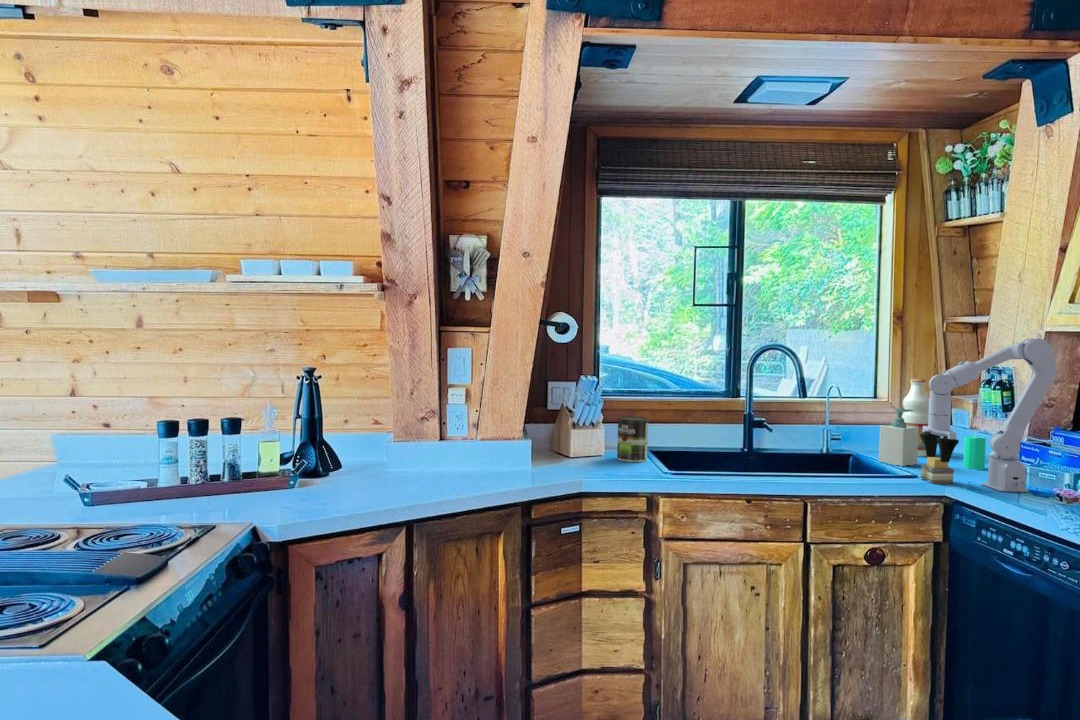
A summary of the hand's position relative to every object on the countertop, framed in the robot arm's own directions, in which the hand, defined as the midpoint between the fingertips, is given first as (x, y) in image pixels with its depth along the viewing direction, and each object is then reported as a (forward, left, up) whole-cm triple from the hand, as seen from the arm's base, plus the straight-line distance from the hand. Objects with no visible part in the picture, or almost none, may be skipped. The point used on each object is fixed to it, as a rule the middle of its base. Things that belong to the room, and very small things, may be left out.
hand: (937, 459), depth 206 cm
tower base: (0, 0, -7) cm, 7 cm away
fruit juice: (+47, -18, -7) cm, 51 cm away
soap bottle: (+28, -2, -7) cm, 29 cm away
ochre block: (0, 0, -4) cm, 4 cm away
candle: (+23, -25, -7) cm, 35 cm away
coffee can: (+25, +89, -7) cm, 92 cm away
